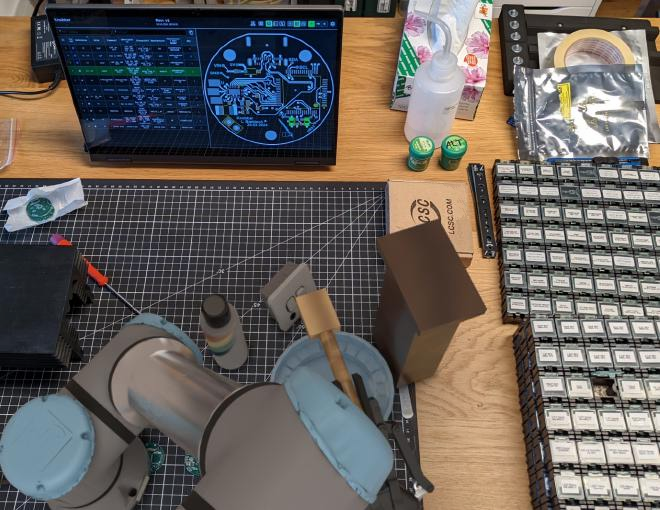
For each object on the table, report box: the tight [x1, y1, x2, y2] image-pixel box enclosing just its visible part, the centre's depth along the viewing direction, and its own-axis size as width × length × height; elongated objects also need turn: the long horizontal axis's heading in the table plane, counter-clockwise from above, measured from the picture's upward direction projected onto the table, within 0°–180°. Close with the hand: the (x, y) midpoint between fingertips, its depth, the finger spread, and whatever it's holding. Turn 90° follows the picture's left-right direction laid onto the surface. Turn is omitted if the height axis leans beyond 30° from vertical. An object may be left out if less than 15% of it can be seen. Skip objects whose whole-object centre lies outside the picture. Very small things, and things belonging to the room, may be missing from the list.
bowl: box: [269, 330, 395, 421], centre depth 98 cm, size 19×19×6 cm
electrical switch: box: [258, 260, 318, 332], centre depth 105 cm, size 9×5×9 cm, turn 141°
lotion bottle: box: [199, 292, 249, 370], centre depth 95 cm, size 6×6×20 cm
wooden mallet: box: [296, 287, 364, 412], centre depth 81 cm, size 4×22×2 cm, turn 20°
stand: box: [372, 218, 488, 390], centre depth 91 cm, size 9×14×30 cm, turn 20°
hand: (346, 379), depth 77 cm, fingers closed on wooden mallet, 2 cm apart
